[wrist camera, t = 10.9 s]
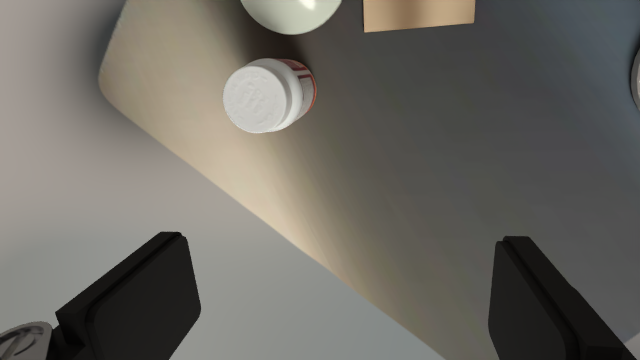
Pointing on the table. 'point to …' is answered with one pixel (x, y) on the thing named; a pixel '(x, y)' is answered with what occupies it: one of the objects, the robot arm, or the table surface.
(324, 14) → the lid
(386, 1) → the mat
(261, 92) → the pill bottle
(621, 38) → the table surface
